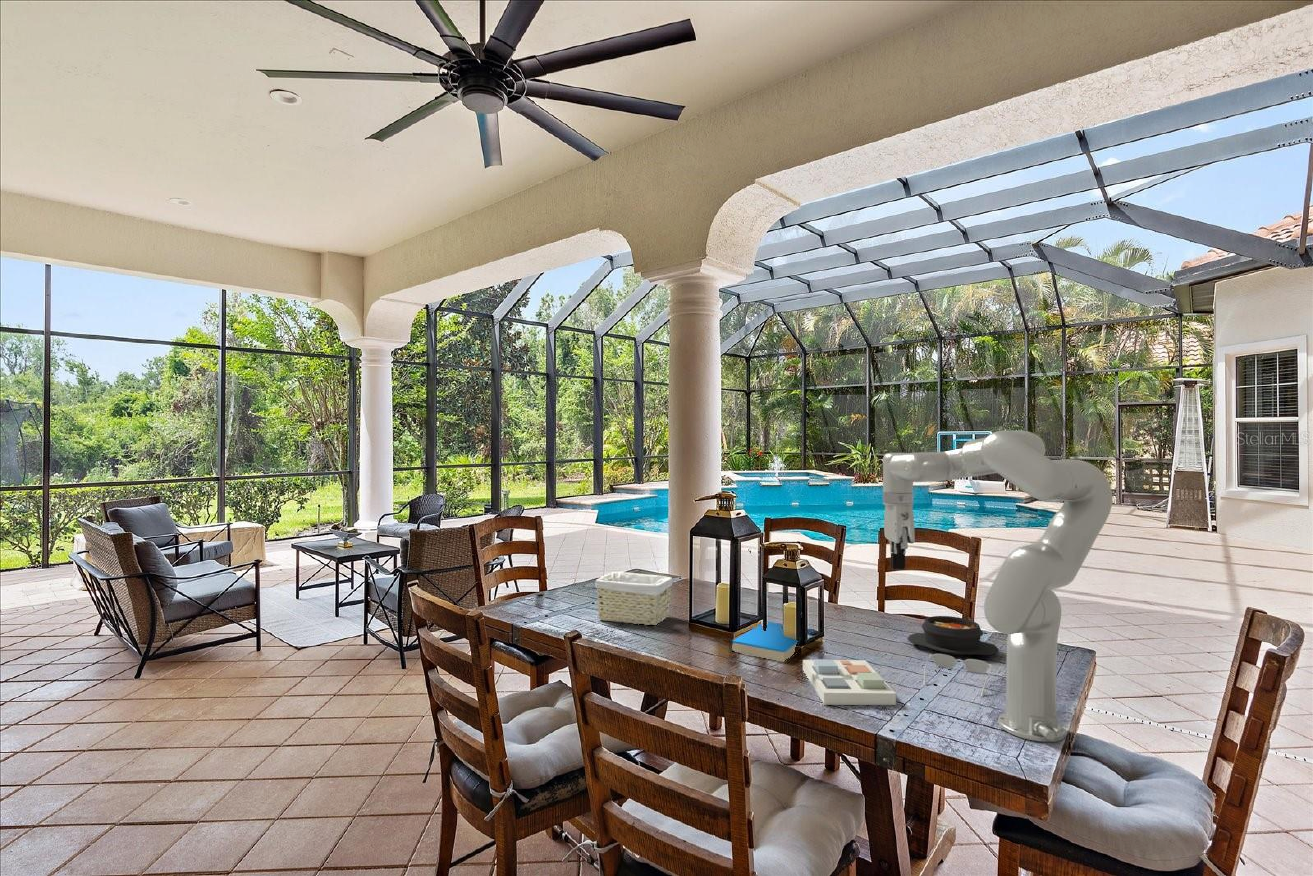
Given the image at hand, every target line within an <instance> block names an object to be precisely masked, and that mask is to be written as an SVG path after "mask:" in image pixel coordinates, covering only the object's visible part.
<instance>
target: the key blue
mask: <svg viewBox="0 0 1313 876" xmlns="http://www.w3.org/2000/svg"><path fill="white" fill-rule="evenodd" d="M813 660H814V670H815V671H816V673H817V674H818V675H838V665H837V664H836V663H835V661H834V660H835V659H821V658H820V659H813Z"/></svg>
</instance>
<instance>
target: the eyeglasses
mask: <svg viewBox="0 0 1313 876" xmlns="http://www.w3.org/2000/svg"><path fill="white" fill-rule="evenodd" d="M930 658H932V659H933V662H934V664H935V665H936V666H937V665H939V666H943V667H942V668H945V667H948V668H947V669H951V668H952V669H954V667H956V664H957V661H958V662H959V661H960V662H963V666H964V668H965V670H967V672H970V673H975V674H981V673H982V674H981V675H985V674H986V672H987V671H988V669H989V670H991V668H992V664H991V663H988V662H987V661H984V660H981V659H980V660H979V659H973V658H967V659H965V660H962V659H961V658H958V659H957V658H956V657H954V656H953V655H949V654H944V653H934V654H929V657H928V659H927V660H926V662H925V663H924V670H923V671H924V672H923V683H922V685H923V684H924V685H926V686H927V681H926V678H927V677H926V669H927V668H926V664H927V663H928V660H929V659H930ZM939 666H938V667H939ZM990 674H991V671H989V673H988V676H987V677H986V678H985V681H984V683H983V686H982V691H981V694H980V697H983V696H984V697H985V689H986V686H987V685H986V684H987V680H988V679H989V677H990ZM924 685H923V686H924Z"/></svg>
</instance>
